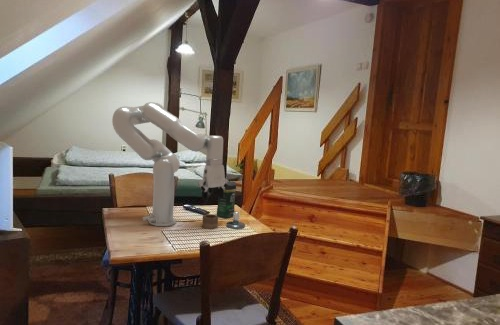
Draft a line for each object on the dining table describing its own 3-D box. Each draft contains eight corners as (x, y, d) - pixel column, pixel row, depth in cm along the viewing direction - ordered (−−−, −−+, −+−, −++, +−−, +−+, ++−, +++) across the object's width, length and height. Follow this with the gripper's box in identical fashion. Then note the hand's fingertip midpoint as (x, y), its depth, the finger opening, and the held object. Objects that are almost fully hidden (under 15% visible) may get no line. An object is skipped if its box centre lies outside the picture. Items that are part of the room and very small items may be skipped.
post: (235, 230, 166) (236, 215, 165) (222, 225, 172) (223, 211, 172) (248, 227, 173) (249, 212, 172) (235, 222, 179) (236, 208, 178)
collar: (208, 229, 164) (209, 219, 163) (199, 226, 169) (200, 215, 168) (220, 227, 169) (221, 217, 168) (210, 223, 174) (211, 213, 173)
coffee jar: (226, 219, 183) (229, 183, 181) (214, 216, 187) (216, 181, 185) (236, 215, 192) (239, 181, 189) (224, 212, 195) (226, 179, 193)
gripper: (204, 164, 156) (203, 202, 158) (233, 162, 169) (231, 198, 171) (194, 162, 162) (192, 199, 164) (222, 160, 174) (221, 195, 176)
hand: (212, 198), depth 167 cm, fingers open, 9 cm apart
